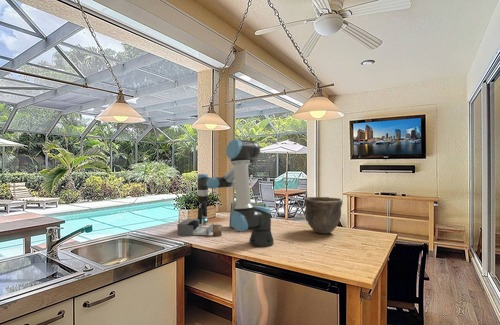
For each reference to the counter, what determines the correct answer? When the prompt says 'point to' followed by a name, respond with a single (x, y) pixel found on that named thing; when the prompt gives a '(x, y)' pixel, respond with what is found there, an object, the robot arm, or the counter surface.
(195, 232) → the tray
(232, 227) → the radio
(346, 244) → the counter surface
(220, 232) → the post
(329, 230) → the clay pot
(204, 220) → the disc
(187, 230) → the box
